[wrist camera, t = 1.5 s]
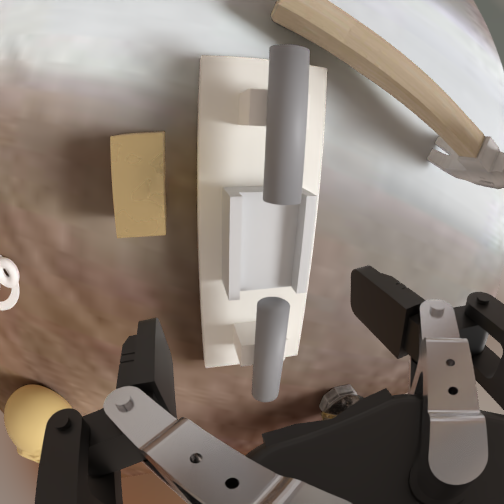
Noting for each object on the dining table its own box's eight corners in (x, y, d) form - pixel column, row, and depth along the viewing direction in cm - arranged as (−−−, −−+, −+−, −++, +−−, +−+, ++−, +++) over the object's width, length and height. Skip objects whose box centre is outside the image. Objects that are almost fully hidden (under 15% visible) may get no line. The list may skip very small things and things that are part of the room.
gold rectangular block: (126, 216, 28) (117, 238, 23) (122, 133, 25) (110, 136, 20) (166, 213, 29) (165, 235, 24) (165, 131, 26) (162, 132, 21)
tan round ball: (43, 426, 36) (34, 477, 27) (1, 378, 31) (-19, 432, 22) (96, 421, 38) (92, 478, 29) (54, 369, 33) (37, 432, 23)
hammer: (279, -25, 14) (535, 204, 20) (309, -57, 13) (548, 168, 19) (261, 45, 30) (450, 184, 35) (281, 18, 28) (463, 157, 34)
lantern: (308, 415, 49) (368, 531, 26) (321, 385, 46) (395, 512, 23) (349, 406, 51) (414, 508, 29) (364, 376, 48) (442, 485, 26)
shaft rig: (203, 359, 37) (214, 411, 30) (200, 58, 24) (211, 34, 16) (293, 347, 40) (318, 392, 33) (320, 70, 27) (367, 58, 19)
